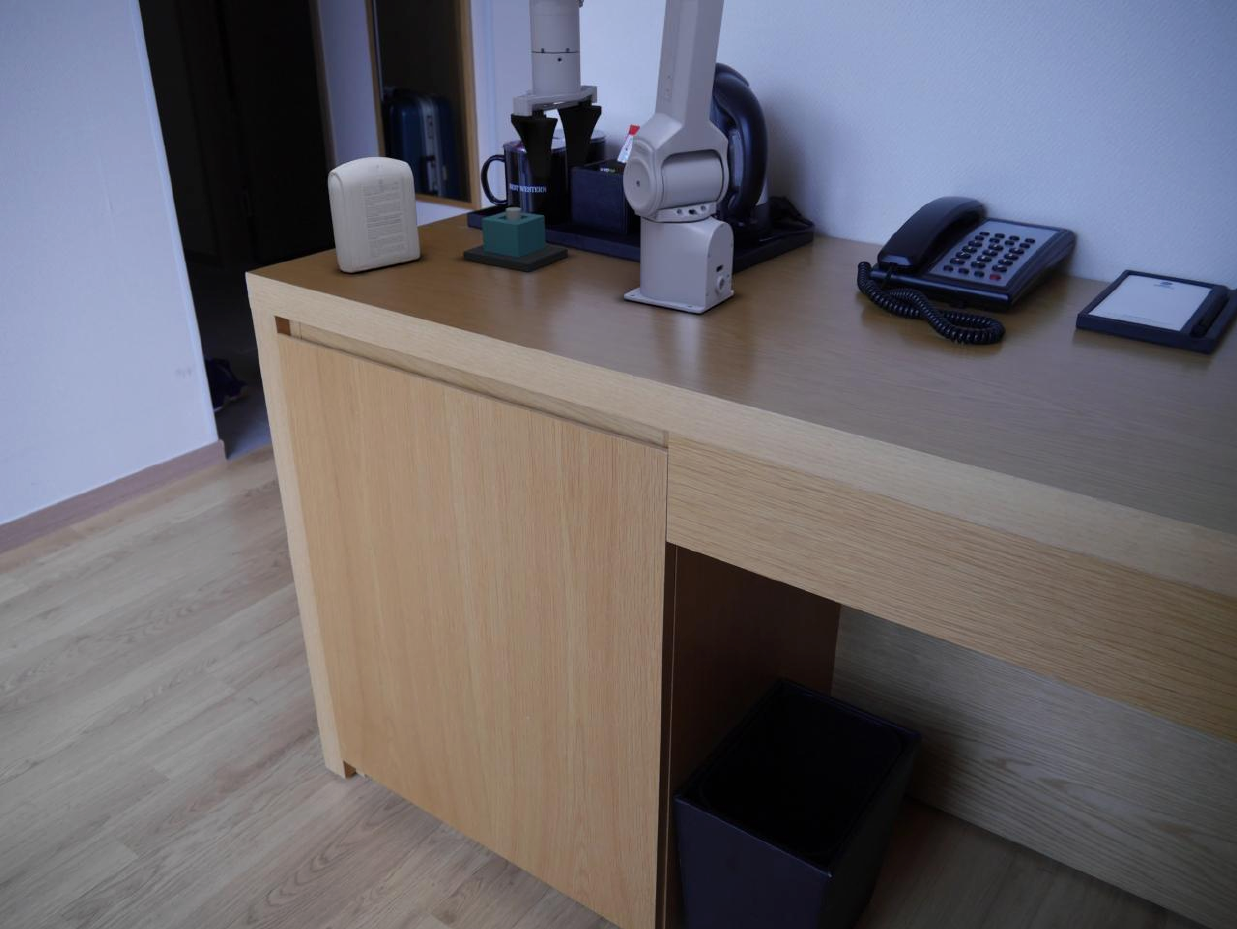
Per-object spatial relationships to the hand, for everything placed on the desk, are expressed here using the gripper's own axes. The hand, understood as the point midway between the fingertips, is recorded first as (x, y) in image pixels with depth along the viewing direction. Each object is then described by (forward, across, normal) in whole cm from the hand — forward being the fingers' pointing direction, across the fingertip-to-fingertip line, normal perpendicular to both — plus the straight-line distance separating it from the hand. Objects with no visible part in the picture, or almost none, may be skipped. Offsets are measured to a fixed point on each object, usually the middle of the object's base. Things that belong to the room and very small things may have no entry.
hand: (559, 171), depth 118 cm
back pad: (+9, +7, -2) cm, 12 cm away
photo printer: (+10, +18, -14) cm, 25 cm away
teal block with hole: (+8, +7, -2) cm, 11 cm away
